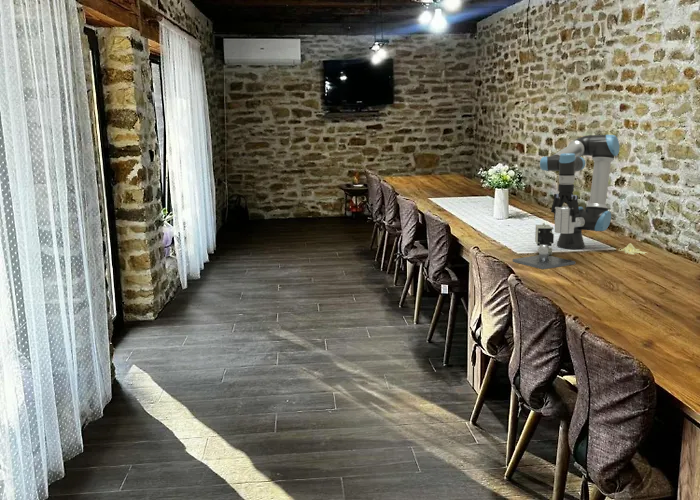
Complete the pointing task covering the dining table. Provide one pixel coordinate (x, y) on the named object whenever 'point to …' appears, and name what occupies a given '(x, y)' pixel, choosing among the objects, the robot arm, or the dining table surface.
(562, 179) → the robot arm
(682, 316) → the dining table surface
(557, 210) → the grey metal fitting
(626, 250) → the cloth
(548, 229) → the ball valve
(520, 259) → the grey metal plate
